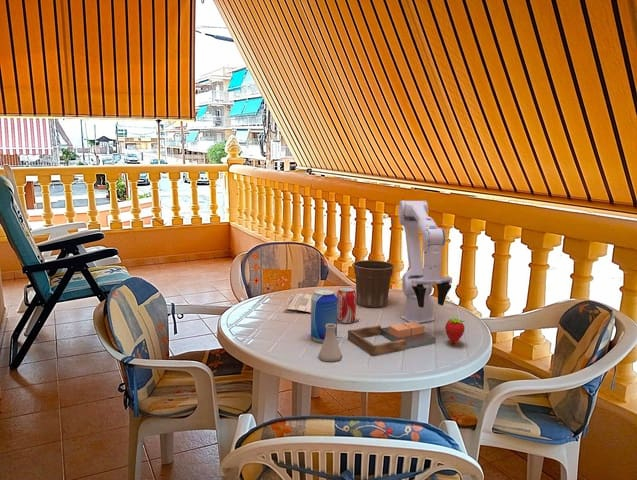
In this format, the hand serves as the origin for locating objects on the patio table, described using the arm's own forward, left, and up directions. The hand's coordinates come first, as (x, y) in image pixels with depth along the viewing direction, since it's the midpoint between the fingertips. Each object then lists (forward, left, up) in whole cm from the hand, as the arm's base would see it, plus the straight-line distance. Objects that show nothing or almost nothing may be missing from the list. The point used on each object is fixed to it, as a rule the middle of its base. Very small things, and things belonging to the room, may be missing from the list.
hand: (430, 305), depth 169 cm
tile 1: (+11, -1, -8) cm, 14 cm away
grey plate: (+8, -1, -10) cm, 13 cm away
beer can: (+33, -12, -11) cm, 37 cm away
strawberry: (-3, +9, -11) cm, 14 cm away
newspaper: (+26, -48, -11) cm, 55 cm away
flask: (+38, +2, -11) cm, 40 cm away
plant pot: (-2, -38, -11) cm, 39 cm away
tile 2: (+6, -1, -8) cm, 10 cm away
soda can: (+18, -24, -11) cm, 32 cm away
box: (+20, -1, -10) cm, 22 cm away
